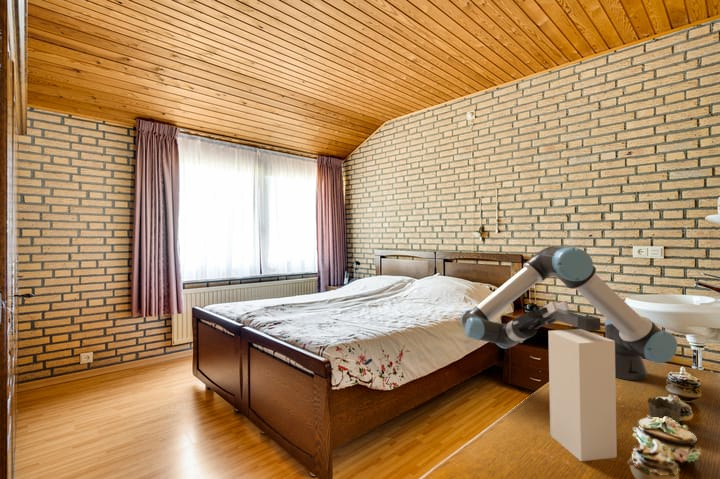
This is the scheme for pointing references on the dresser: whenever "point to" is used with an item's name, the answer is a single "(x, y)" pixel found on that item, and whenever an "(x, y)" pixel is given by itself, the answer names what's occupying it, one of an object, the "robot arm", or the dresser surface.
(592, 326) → the dark grey bar
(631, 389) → the dresser surface
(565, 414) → the tall cream upright block
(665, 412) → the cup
